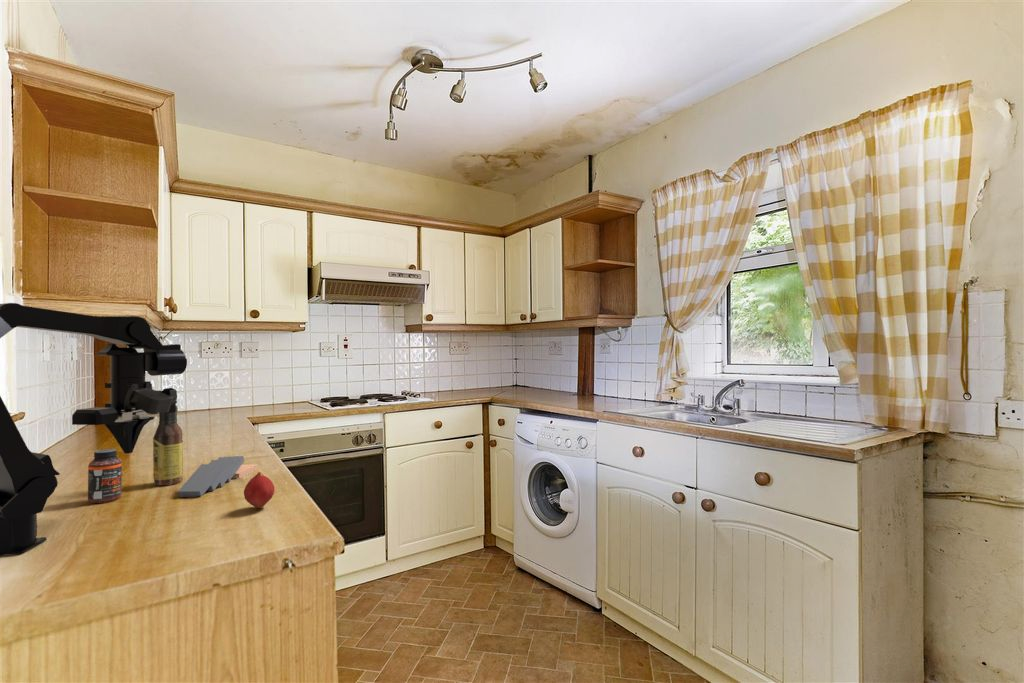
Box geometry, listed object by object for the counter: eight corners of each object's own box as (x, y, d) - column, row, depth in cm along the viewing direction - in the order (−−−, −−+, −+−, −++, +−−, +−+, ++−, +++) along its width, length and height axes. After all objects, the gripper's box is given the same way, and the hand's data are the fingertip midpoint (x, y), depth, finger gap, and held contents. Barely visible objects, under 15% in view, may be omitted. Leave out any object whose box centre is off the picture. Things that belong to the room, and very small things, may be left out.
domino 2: (211, 485, 118) (231, 459, 127) (190, 486, 118) (212, 460, 127) (213, 491, 119) (233, 464, 128) (192, 491, 119) (213, 465, 128)
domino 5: (239, 473, 130) (257, 464, 140) (220, 473, 130) (240, 464, 140) (239, 479, 130) (257, 470, 140) (220, 479, 130) (240, 470, 140)
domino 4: (227, 476, 126) (243, 455, 136) (207, 477, 126) (224, 456, 135) (229, 481, 127) (244, 460, 136) (208, 483, 126) (225, 462, 136)
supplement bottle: (102, 505, 109) (102, 453, 109) (80, 503, 110) (80, 452, 110) (128, 496, 115) (128, 448, 115) (107, 495, 116) (107, 447, 116)
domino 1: (199, 491, 114) (221, 464, 123) (177, 491, 114) (201, 464, 123) (201, 496, 115) (223, 469, 124) (179, 496, 115) (202, 469, 124)
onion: (237, 510, 105) (237, 472, 105) (262, 502, 110) (262, 466, 110) (255, 514, 102) (255, 475, 102) (280, 506, 107) (280, 469, 107)
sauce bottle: (156, 481, 128) (156, 404, 128) (185, 478, 131) (184, 403, 131) (150, 488, 122) (150, 407, 122) (180, 485, 125) (180, 406, 125)
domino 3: (220, 481, 122) (238, 456, 131) (199, 482, 122) (219, 457, 131) (221, 487, 123) (239, 461, 132) (200, 487, 122) (220, 462, 131)
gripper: (122, 380, 92) (122, 465, 92) (198, 374, 110) (198, 444, 110) (69, 380, 93) (69, 463, 93) (152, 374, 111) (152, 443, 111)
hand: (128, 453), depth 102 cm, fingers closed
